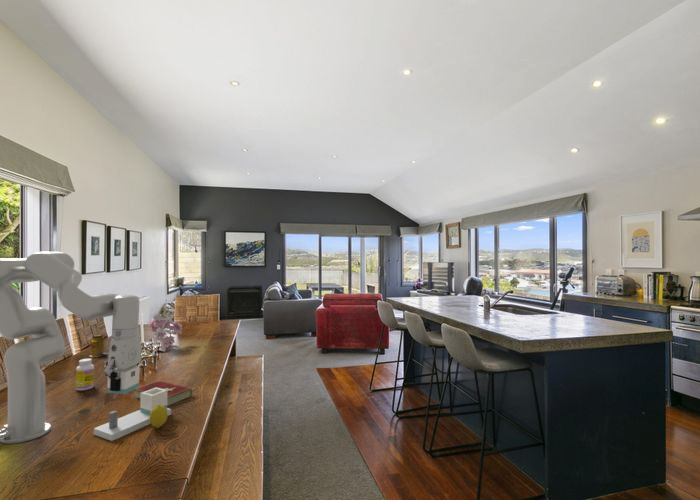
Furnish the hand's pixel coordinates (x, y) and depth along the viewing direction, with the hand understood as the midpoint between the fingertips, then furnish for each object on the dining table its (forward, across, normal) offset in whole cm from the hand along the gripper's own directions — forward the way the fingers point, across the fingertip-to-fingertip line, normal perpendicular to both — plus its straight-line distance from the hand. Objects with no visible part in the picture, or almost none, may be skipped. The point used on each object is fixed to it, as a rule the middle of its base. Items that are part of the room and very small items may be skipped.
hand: (123, 386), depth 121 cm
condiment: (+19, +88, +85) cm, 124 cm away
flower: (+18, +107, +55) cm, 122 cm away
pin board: (+17, +9, +2) cm, 20 cm away
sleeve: (+1, 0, 0) cm, 1 cm away
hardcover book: (+18, +34, +8) cm, 39 cm away
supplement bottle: (+18, +38, +48) cm, 64 cm away
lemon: (+17, +8, -8) cm, 20 cm away
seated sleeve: (+15, +16, 0) cm, 22 cm away
